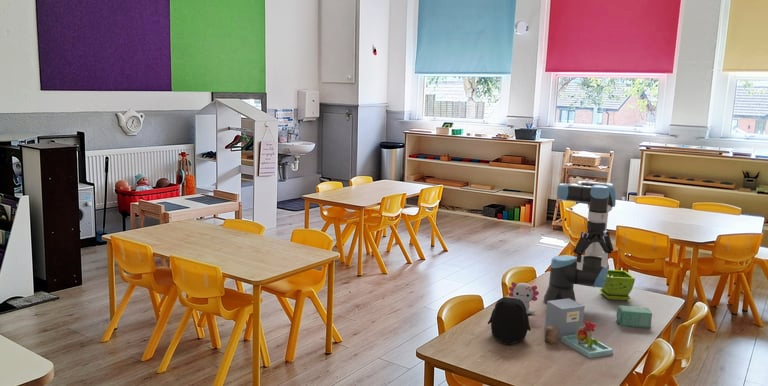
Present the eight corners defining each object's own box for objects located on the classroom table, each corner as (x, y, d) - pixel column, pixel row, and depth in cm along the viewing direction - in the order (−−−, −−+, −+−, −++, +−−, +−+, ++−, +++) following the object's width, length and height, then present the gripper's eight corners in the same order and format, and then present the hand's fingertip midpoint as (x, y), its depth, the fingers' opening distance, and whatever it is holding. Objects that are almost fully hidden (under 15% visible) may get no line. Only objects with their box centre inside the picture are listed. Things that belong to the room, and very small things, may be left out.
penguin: (531, 333, 266) (535, 295, 263) (527, 350, 250) (530, 309, 247) (490, 326, 272) (493, 289, 269) (482, 342, 255) (485, 302, 252)
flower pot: (633, 302, 311) (635, 278, 309) (605, 301, 311) (607, 277, 309) (622, 293, 325) (625, 269, 322) (596, 291, 325) (598, 268, 322)
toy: (505, 314, 287) (508, 283, 285) (508, 308, 295) (511, 278, 292) (535, 319, 282) (538, 288, 280) (538, 314, 290) (541, 283, 287)
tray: (561, 340, 260) (561, 336, 260) (583, 337, 265) (584, 333, 264) (589, 358, 245) (589, 353, 244) (612, 354, 250) (613, 349, 249)
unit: (543, 329, 272) (546, 300, 270) (565, 325, 277) (568, 298, 274) (559, 338, 262) (562, 309, 260) (582, 335, 267) (585, 306, 265)
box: (615, 319, 287) (617, 304, 286) (645, 322, 286) (647, 307, 284) (619, 326, 280) (621, 310, 278) (650, 328, 278) (652, 313, 277)
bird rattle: (574, 350, 254) (593, 349, 248) (568, 323, 256) (586, 321, 249) (583, 346, 258) (602, 345, 251) (576, 320, 260) (595, 318, 253)
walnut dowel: (541, 340, 260) (543, 326, 259) (551, 339, 262) (552, 325, 261) (549, 345, 255) (550, 331, 254) (559, 343, 257) (560, 330, 256)
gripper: (579, 224, 261) (574, 273, 265) (625, 221, 271) (619, 268, 275) (568, 220, 268) (563, 267, 272) (612, 217, 278) (607, 263, 282)
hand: (591, 268), depth 273 cm, fingers open, 13 cm apart
